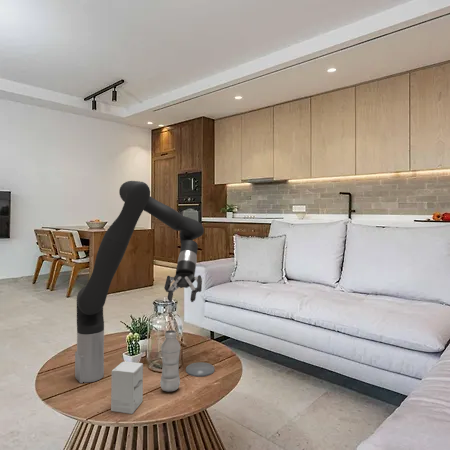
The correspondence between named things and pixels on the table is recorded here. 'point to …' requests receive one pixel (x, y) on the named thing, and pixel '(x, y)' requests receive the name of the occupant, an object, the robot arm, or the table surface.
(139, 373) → the supplement box
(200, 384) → the table surface
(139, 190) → the robot arm
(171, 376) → the plastic bottle
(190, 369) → the coaster
